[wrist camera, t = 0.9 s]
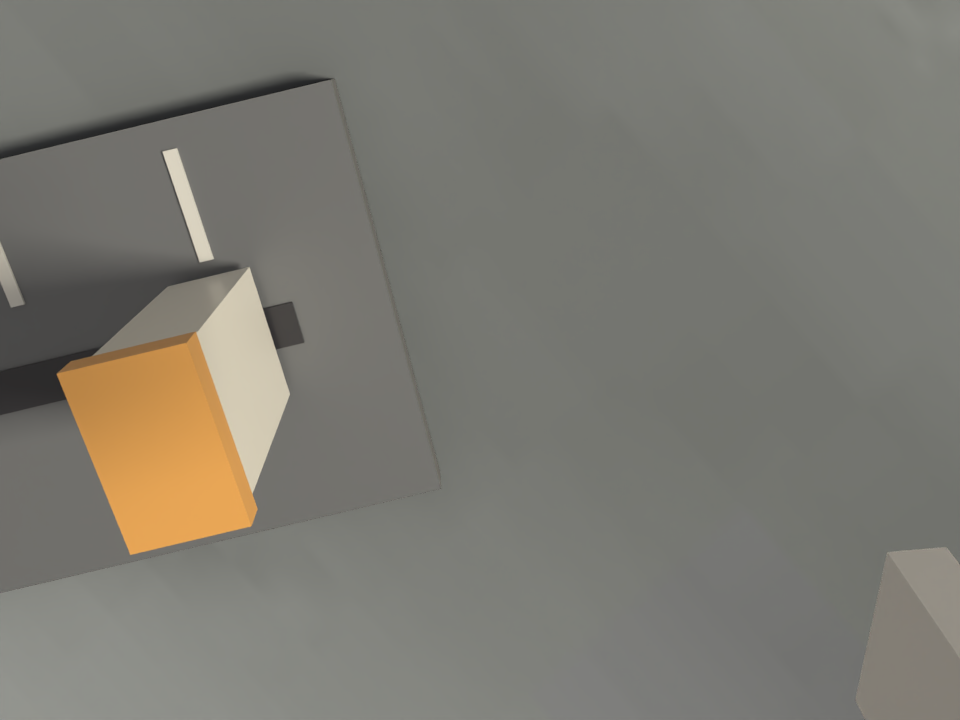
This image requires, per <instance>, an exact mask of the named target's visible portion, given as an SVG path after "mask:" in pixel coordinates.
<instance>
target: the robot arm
mask: <svg viewBox="0 0 960 720" xmlns="http://www.w3.org/2000/svg"><path fill="white" fill-rule="evenodd" d="M855 701H856V703H857V705H858V706H859V708H860V710H861V712H862V714H863V716H864V718H865V720H960V564H959V563H958V562H957V560H956V559H955V558H954V556H953V555H952V554H951V553H950V551H949V550H948V549H947V547H941V548H930V549H918V550H907V551H896V552H887V556H886V561H885V565H884V570H883V574H882V579H881V584H880V588H879V593H878V598H877V602H876V607H875V611H874V616H873V621H872V625H871V630H870V634H869V639H868V644H867V648H866V653H865V658H864V662H863V667H862V671H861V676H860V681H859V685H858V690H857V694H856V699H855Z"/></svg>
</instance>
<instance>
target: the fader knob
mask: <svg viewBox="0 0 960 720" xmlns="http://www.w3.org/2000/svg"><path fill="white" fill-rule="evenodd" d="M57 376H58V379H59V381H60V384H61V386H62V389H63V391H64V393H65V396H66V398H67V401H68V403H69V406H70V408H71V411H72V413H73V416H74V418H75V420H76V423H77V425H78V428H79V430H80V433H81V435H82V438H83V440H84V442H85V445H86V447H87V450H88V452H89V455H90V457H91V460H92V462H93V464H94V467H95V469H96V472H97V474H98V477H99V479H100V482H101V484H102V486H103V489H104V491H105V494H106V496H107V499H108V501H109V504H110V506H111V509H112V511H113V513H114V516H115V518H116V521H117V523H118V526H119V528H120V531H121V533H122V535H123V538H124V540H125V543H126V545H127V548H128V550H129V553H130V555H132V554H137V553H141V552H145V551H149V550H154V549H158V548H162V547H166V546H171V545H175V544H179V543H183V542H187V541H192V540H196V539H200V538H204V537H209V536H213V535H217V534H221V533H226V532H230V531H234V530H238V529H242V528H247V527H251V526H252V524H253V521H254V518H255V515H256V512H257V506H256V503H255V500H254V497H253V491H254V489H255V486H256V483H257V481H258V478H259V475H260V473H261V470H262V468H263V465H264V462H265V460H266V457H267V454H268V452H269V449H270V446H271V444H272V441H273V438H274V436H275V433H276V430H277V428H278V425H279V422H280V420H281V417H282V414H283V412H284V409H285V406H286V404H287V401H288V398H289V396H290V393H289V389H288V386H287V383H286V380H285V377H284V374H283V371H282V367H281V364H280V361H279V358H278V355H277V352H276V349H275V346H274V342H273V339H272V336H271V333H270V330H269V327H268V324H267V321H266V317H265V314H264V311H263V308H262V305H261V302H260V299H259V295H258V292H257V289H256V286H255V283H254V280H253V277H252V274H251V270H250V267H247V268H243V269H238V270H234V271H230V272H226V273H222V274H218V275H213V276H209V277H205V278H201V279H197V280H193V281H188V282H184V283H180V284H176V285H172V286H168V287H167V288H165V289H164V290H163V291H162V292H161V293H160V294H159V295H158V296H157V297H156V298H155V299H154V300H152V301H151V302H150V303H149V304H148V305H147V306H146V307H145V308H144V309H143V310H142V311H141V312H139V313H138V314H137V315H136V316H135V317H134V318H133V319H132V320H131V321H130V322H129V323H127V324H126V325H125V326H124V327H123V328H122V329H121V330H120V331H119V332H118V333H117V334H116V335H114V336H113V337H112V338H111V339H110V340H109V341H108V342H107V343H106V344H105V345H104V346H103V347H101V348H100V349H99V350H98V351H97V352H96V353H95V354H94V355H93V356H90V357H86V358H82V359H78V360H74V361H70V362H69V363H68V364H67V365H66V366H65V367H64V368H62V369H61V370H60V371H59V372H58V373H57Z"/></svg>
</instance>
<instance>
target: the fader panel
mask: <svg viewBox="0 0 960 720" xmlns="http://www.w3.org/2000/svg"><path fill="white" fill-rule="evenodd" d="M247 267H250V270H251V274H252V277H253V280H254V283H255V286H256V289H257V292H258V295H259V299H260V302H261V305H262V308H263V311H264V314H265V317H266V321H267V324H268V327H269V330H270V333H271V336H272V339H273V342H274V346H275V349H276V352H277V355H278V358H279V361H280V364H281V367H282V371H283V374H284V377H285V380H286V383H287V386H288V389H289V393H290V396H289V398H288V401H287V404H286V406H285V409H284V412H283V414H282V417H281V420H280V422H279V425H278V428H277V430H276V433H275V436H274V438H273V441H272V444H271V446H270V449H269V452H268V454H267V457H266V460H265V462H264V465H263V468H262V470H261V473H260V475H259V478H258V481H257V483H256V486H255V489H254V491H253V497H254V500H255V503H256V506H257V512H256V515H255V518H254V521H253V524H252V526H251V527H247V528H242V529H238V530H234V531H230V532H226V533H221V534H217V535H213V536H209V537H204V538H200V539H196V540H192V541H187V542H183V543H179V544H175V545H171V546H166V547H162V548H158V549H154V550H149V551H145V552H141V553H137V554H132V555H130V553H129V550H128V548H127V545H126V543H125V540H124V538H123V535H122V533H121V531H120V528H119V526H118V523H117V521H116V518H115V516H114V513H113V511H112V509H111V506H110V504H109V501H108V499H107V496H106V494H105V491H104V489H103V486H102V484H101V482H100V479H99V477H98V474H97V472H96V469H95V467H94V464H93V462H92V460H91V457H90V455H89V452H88V450H87V447H86V445H85V442H84V440H83V438H82V435H81V433H80V430H79V428H78V425H77V423H76V420H75V418H74V416H73V413H72V411H71V408H70V406H69V403H68V401H67V398H66V396H65V393H64V391H63V389H62V386H61V384H60V381H59V379H58V376H57V373H58V372H59V371H60V370H61V369H62V368H64V367H65V366H66V365H67V364H68V363H69V362H70V361H74V360H78V359H82V358H86V357H90V356H93V355H94V354H95V353H96V352H97V351H98V350H99V349H100V348H101V347H103V346H104V345H105V344H106V343H107V342H108V341H109V340H110V339H111V338H112V337H113V336H114V335H116V334H117V333H118V332H119V331H120V330H121V329H122V328H123V327H124V326H125V325H126V324H127V323H129V322H130V321H131V320H132V319H133V318H134V317H135V316H136V315H137V314H138V313H139V312H141V311H142V310H143V309H144V308H145V307H146V306H147V305H148V304H149V303H150V302H151V301H152V300H154V299H155V298H156V297H157V296H158V295H159V294H160V293H161V292H162V291H163V290H164V289H165V288H167V287H168V286H172V285H176V284H180V283H184V282H188V281H193V280H197V279H201V278H205V277H209V276H213V275H218V274H222V273H226V272H230V271H234V270H238V269H243V268H247ZM439 489H441V476H440V470H439V466H438V462H437V458H436V455H435V451H434V447H433V443H432V440H431V436H430V432H429V429H428V425H427V421H426V417H425V414H424V410H423V406H422V402H421V399H420V395H419V391H418V388H417V384H416V380H415V376H414V373H413V369H412V365H411V361H410V358H409V354H408V350H407V347H406V343H405V339H404V335H403V332H402V328H401V324H400V320H399V317H398V313H397V309H396V305H395V302H394V298H393V294H392V291H391V287H390V283H389V279H388V276H387V272H386V268H385V264H384V261H383V257H382V253H381V250H380V246H379V242H378V238H377V235H376V231H375V227H374V223H373V220H372V216H371V212H370V209H369V205H368V201H367V197H366V194H365V190H364V186H363V182H362V179H361V175H360V171H359V168H358V164H357V160H356V156H355V153H354V149H353V145H352V141H351V138H350V134H349V130H348V127H347V123H346V119H345V115H344V112H343V108H342V104H341V100H340V97H339V93H338V89H337V86H336V82H335V79H331V80H326V81H322V82H318V83H314V84H310V85H306V86H302V87H297V88H293V89H289V90H285V91H281V92H277V93H272V94H268V95H264V96H260V97H256V98H252V99H248V100H243V101H239V102H235V103H231V104H227V105H223V106H219V107H214V108H210V109H206V110H202V111H198V112H194V113H189V114H185V115H181V116H177V117H173V118H169V119H165V120H160V121H156V122H152V123H148V124H144V125H140V126H136V127H131V128H127V129H123V130H119V131H115V132H111V133H106V134H102V135H98V136H94V137H90V138H86V139H82V140H77V141H73V142H69V143H65V144H61V145H57V146H52V147H48V148H44V149H40V150H36V151H32V152H28V153H23V154H19V155H15V156H11V157H7V158H3V159H0V593H3V592H7V591H11V590H15V589H20V588H24V587H28V586H32V585H37V584H41V583H45V582H49V581H54V580H58V579H62V578H66V577H70V576H75V575H79V574H83V573H87V572H92V571H96V570H100V569H104V568H109V567H113V566H117V565H121V564H125V563H130V562H134V561H138V560H142V559H147V558H151V557H155V556H159V555H164V554H168V553H172V552H176V551H180V550H185V549H189V548H193V547H197V546H202V545H206V544H210V543H214V542H219V541H223V540H227V539H231V538H235V537H240V536H244V535H248V534H252V533H257V532H261V531H265V530H269V529H274V528H278V527H282V526H286V525H291V524H295V523H299V522H303V521H307V520H312V519H316V518H320V517H324V516H329V515H333V514H337V513H341V512H346V511H350V510H354V509H358V508H362V507H367V506H371V505H375V504H379V503H384V502H388V501H392V500H396V499H401V498H405V497H409V496H413V495H417V494H422V493H426V492H430V491H434V490H439Z"/></svg>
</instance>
